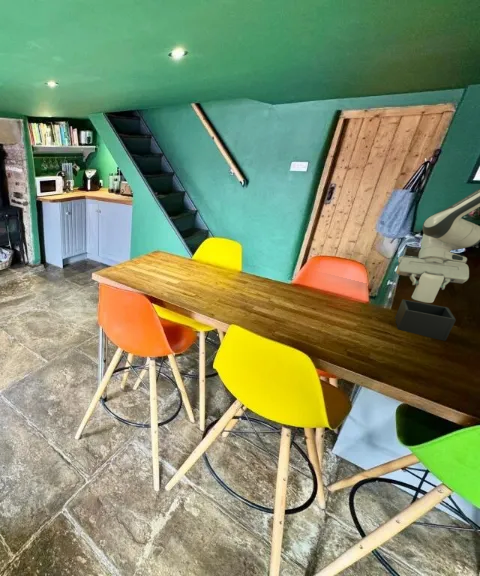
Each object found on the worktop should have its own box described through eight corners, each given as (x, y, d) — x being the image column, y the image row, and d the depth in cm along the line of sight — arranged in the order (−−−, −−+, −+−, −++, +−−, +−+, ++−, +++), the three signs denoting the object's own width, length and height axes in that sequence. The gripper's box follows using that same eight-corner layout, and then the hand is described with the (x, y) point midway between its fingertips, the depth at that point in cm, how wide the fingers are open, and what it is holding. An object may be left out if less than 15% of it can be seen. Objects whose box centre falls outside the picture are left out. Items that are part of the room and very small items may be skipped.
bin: (438, 327, 117) (448, 307, 114) (445, 341, 108) (456, 319, 104) (394, 318, 124) (402, 299, 121) (397, 330, 115) (405, 310, 112)
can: (429, 299, 127) (442, 272, 123) (435, 304, 122) (448, 276, 117) (408, 296, 130) (420, 269, 126) (413, 301, 125) (426, 273, 120)
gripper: (401, 250, 130) (395, 278, 127) (473, 258, 118) (469, 288, 115) (397, 258, 135) (391, 285, 132) (465, 266, 123) (461, 295, 119)
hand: (428, 286), depth 123 cm, fingers closed on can, 6 cm apart
